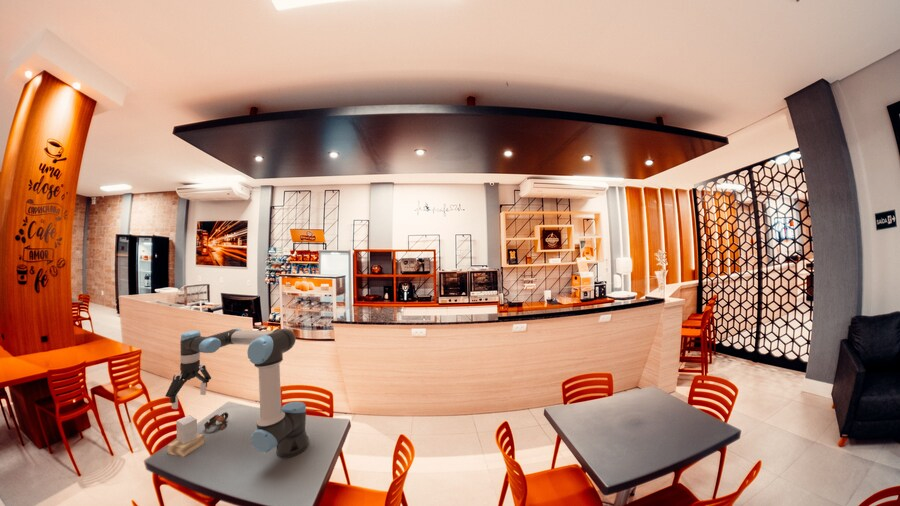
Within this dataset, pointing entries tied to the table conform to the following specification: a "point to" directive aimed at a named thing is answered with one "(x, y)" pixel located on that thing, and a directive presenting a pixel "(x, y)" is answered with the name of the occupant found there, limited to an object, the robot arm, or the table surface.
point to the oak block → (184, 446)
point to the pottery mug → (217, 418)
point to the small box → (186, 429)
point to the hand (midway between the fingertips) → (189, 401)
